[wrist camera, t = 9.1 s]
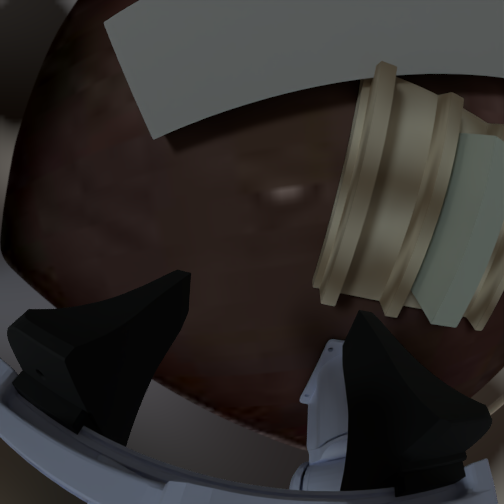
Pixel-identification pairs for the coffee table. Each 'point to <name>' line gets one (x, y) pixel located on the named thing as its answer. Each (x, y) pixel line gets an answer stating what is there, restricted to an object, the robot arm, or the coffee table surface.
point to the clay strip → (463, 230)
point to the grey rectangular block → (290, 48)
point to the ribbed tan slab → (398, 196)
